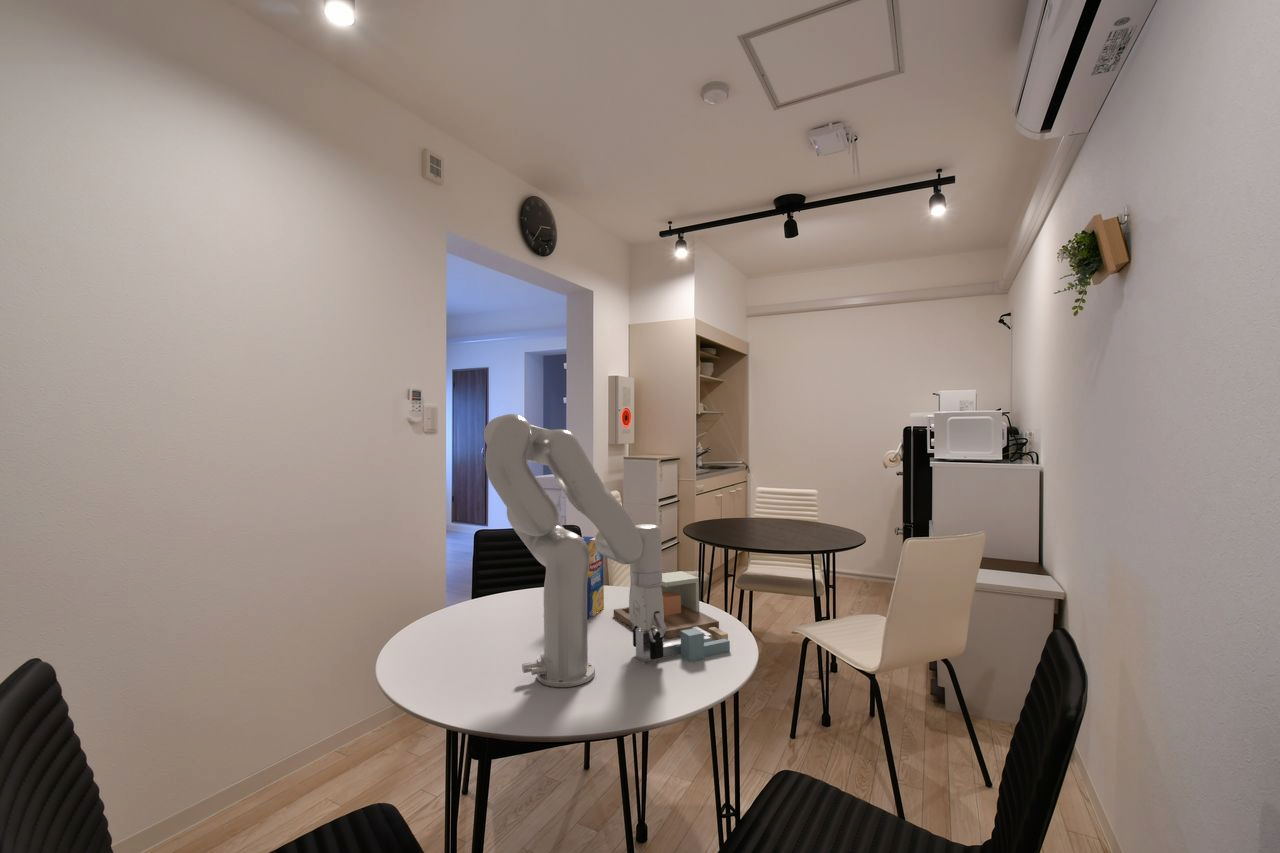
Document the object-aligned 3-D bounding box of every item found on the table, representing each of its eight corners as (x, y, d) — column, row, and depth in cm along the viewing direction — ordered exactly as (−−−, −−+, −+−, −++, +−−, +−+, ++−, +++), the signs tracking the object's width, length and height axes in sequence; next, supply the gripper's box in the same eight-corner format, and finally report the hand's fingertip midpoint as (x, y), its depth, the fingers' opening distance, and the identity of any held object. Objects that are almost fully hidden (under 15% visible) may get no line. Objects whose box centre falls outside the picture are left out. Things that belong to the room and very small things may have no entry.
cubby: (666, 617, 156) (665, 582, 157) (649, 608, 165) (649, 575, 166) (699, 611, 161) (698, 577, 162) (681, 603, 170) (681, 571, 171)
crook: (643, 663, 129) (643, 633, 129) (625, 649, 138) (625, 621, 138) (718, 648, 138) (717, 619, 138) (697, 636, 147) (696, 609, 147)
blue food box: (604, 608, 172) (603, 537, 173) (588, 619, 162) (587, 543, 163) (584, 606, 175) (583, 536, 175) (567, 617, 164) (566, 542, 165)
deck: (650, 641, 143) (650, 633, 143) (613, 616, 165) (613, 609, 165) (719, 628, 152) (718, 621, 152) (675, 606, 174) (675, 599, 174)
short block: (728, 643, 142) (727, 633, 142) (721, 645, 141) (721, 634, 141) (714, 636, 147) (714, 626, 147) (708, 637, 146) (708, 628, 146)
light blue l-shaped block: (689, 661, 130) (689, 635, 130) (680, 656, 133) (680, 630, 133) (732, 652, 135) (731, 627, 135) (722, 647, 138) (722, 623, 139)
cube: (665, 615, 158) (665, 597, 158) (657, 610, 163) (657, 593, 163) (681, 612, 160) (680, 595, 160) (672, 608, 165) (672, 591, 165)
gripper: (617, 572, 138) (618, 643, 138) (648, 587, 123) (650, 668, 122) (644, 568, 141) (645, 637, 141) (678, 583, 126) (680, 661, 125)
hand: (647, 651), depth 132 cm, fingers open, 8 cm apart
